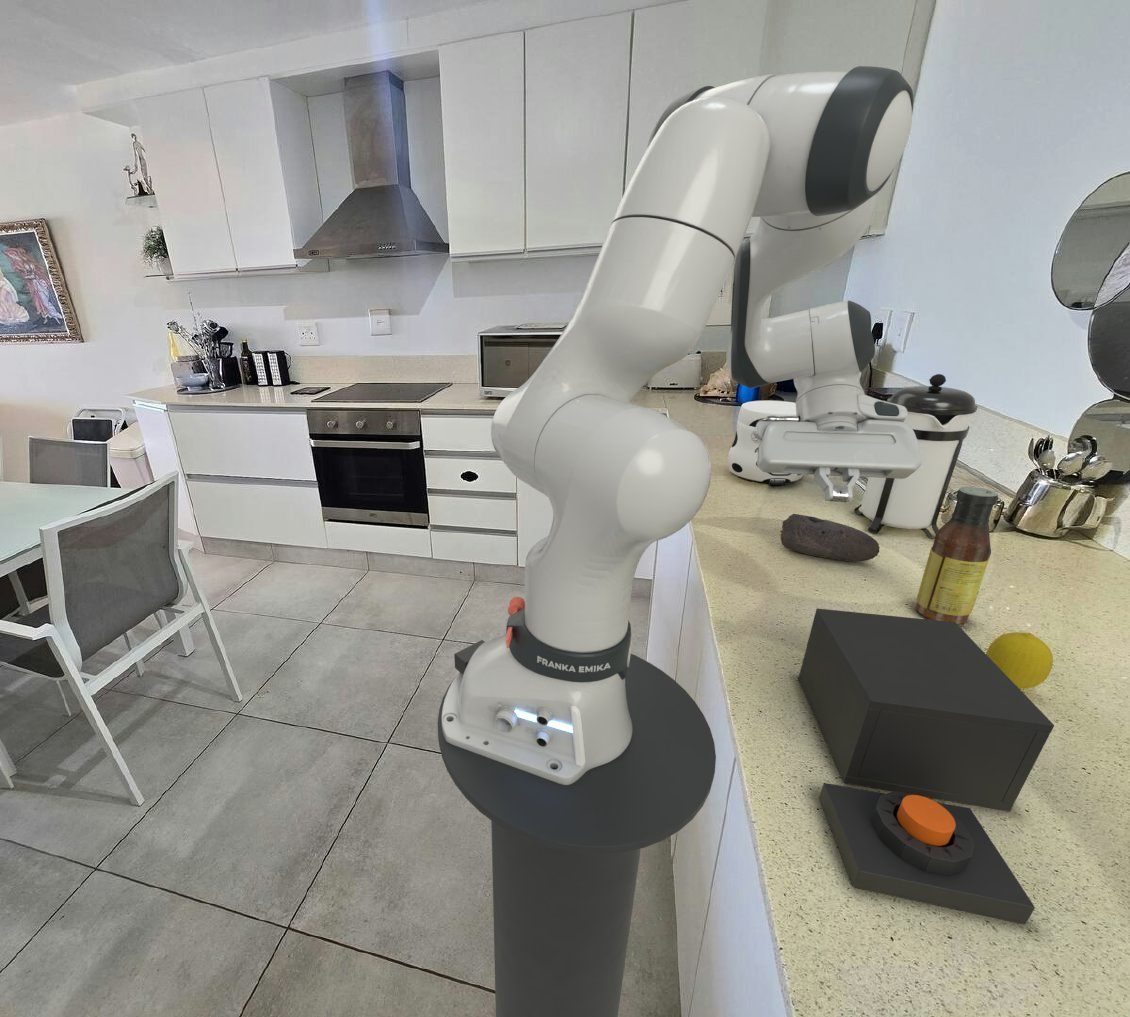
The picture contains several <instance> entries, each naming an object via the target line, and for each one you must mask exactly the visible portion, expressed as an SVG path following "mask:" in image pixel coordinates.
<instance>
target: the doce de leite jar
mask: <svg viewBox="0 0 1130 1017" xmlns="http://www.w3.org/2000/svg"><path fill="white" fill-rule="evenodd" d="M767 416H779V417H780V416H796V402H792V401H784V400H753V401H747V402H744V403H742V404H741V406H740V409H739V412H738V417H737V422H736V430H735V435H734V436H735V437H734V439H733V442H732V445H731V446H730V448H729V451H728V454H727V469H728V471H729V473H730V474H731V475H732V476H734V477H736V478H738V479H740V480H743V481H746V482H749V483H754V484H759V485H770V486H777V485H779V486H783V485H789V484H793V483H795V482H798V481H800V480H801V479H802V478H803V476H804V475H805V474H789V473H767V472H762V471H761V470H760V468H759V467H758V466H757V457H758V448H759V443H760V440H759V439H758V437H757V435H756V424H757V423H758V421H759V420H761V419H764V418H766V417H767Z"/></svg>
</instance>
